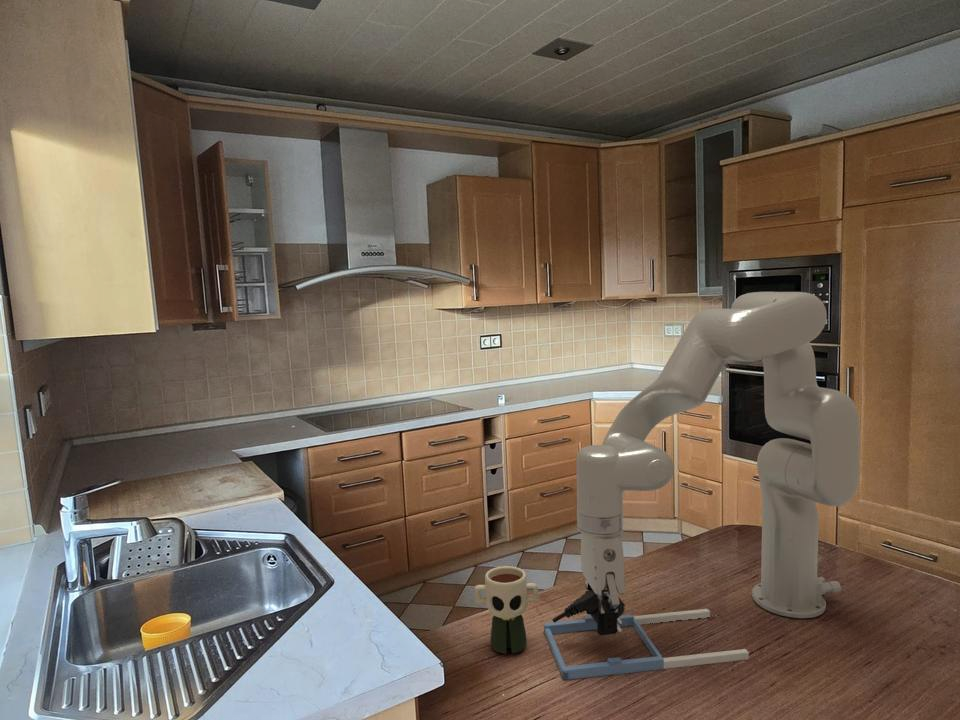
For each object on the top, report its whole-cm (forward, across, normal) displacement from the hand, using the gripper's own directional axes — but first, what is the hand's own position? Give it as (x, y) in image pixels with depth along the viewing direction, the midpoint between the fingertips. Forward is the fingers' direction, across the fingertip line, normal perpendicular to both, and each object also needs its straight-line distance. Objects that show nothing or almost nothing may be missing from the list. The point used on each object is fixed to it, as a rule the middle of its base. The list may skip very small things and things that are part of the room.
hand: (601, 621), depth 104 cm
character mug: (+5, +4, +15) cm, 17 cm away
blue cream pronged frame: (+5, 0, -7) cm, 9 cm away
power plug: (+1, +1, +2) cm, 3 cm away
